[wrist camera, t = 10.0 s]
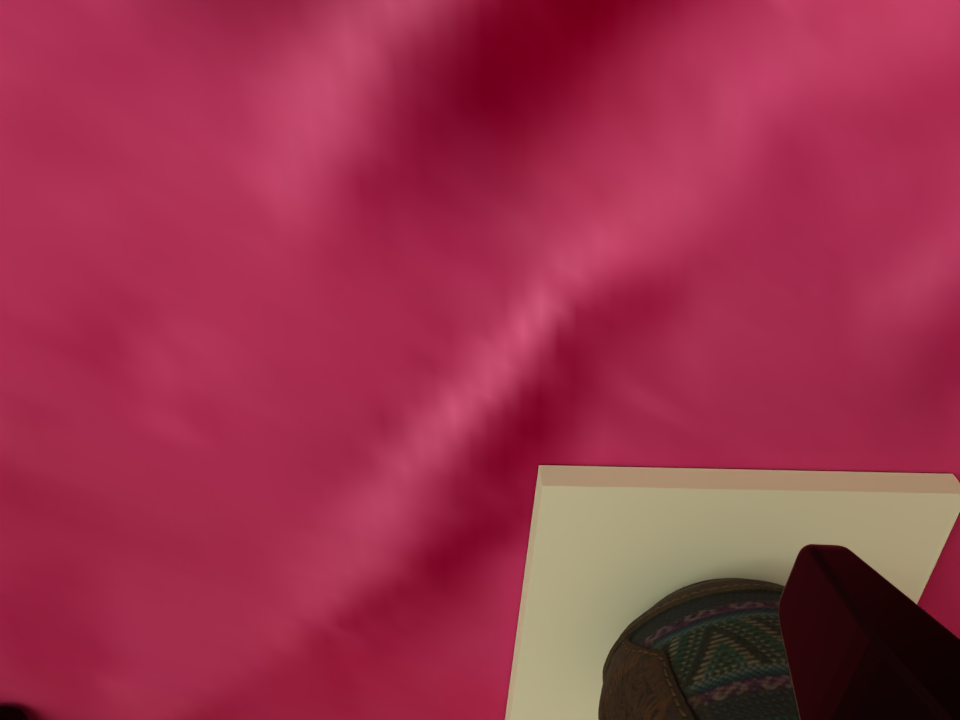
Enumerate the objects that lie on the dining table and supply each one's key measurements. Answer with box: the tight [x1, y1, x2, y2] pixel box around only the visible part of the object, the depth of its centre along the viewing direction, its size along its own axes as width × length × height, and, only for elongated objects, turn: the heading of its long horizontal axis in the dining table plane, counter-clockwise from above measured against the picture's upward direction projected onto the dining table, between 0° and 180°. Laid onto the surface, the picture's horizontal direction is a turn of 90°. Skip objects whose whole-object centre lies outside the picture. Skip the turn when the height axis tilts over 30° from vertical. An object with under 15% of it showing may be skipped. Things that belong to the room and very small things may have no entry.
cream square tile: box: [505, 465, 960, 720], centre depth 26 cm, size 11×11×1 cm
